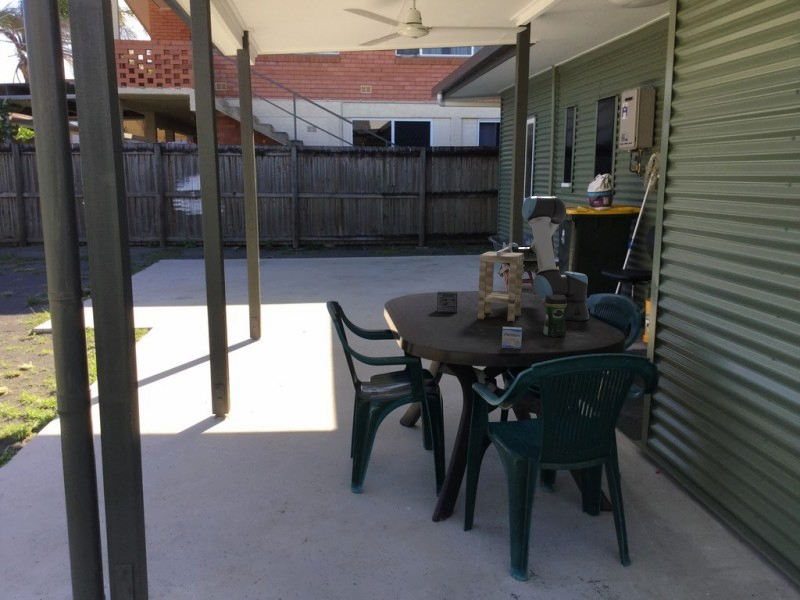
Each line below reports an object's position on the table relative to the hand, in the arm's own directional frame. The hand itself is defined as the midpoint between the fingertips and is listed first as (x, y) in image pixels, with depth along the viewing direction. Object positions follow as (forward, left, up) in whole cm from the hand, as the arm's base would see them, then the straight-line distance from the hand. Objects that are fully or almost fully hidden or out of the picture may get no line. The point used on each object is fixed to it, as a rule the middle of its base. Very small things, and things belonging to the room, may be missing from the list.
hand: (506, 244), depth 340 cm
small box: (+22, +20, -36) cm, 47 cm away
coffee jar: (-45, +22, -36) cm, 62 cm away
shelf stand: (-4, +9, -36) cm, 37 cm away
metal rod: (-2, +5, -4) cm, 6 cm away
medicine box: (-46, +55, -36) cm, 81 cm away
